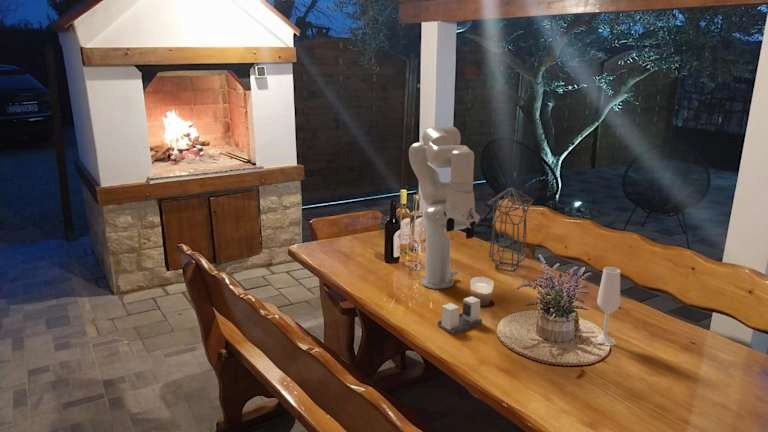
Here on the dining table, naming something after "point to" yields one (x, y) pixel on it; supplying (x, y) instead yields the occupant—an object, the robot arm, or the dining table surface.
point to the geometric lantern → (509, 223)
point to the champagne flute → (609, 298)
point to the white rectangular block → (471, 309)
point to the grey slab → (461, 325)
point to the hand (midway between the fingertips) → (459, 234)
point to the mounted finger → (450, 316)
